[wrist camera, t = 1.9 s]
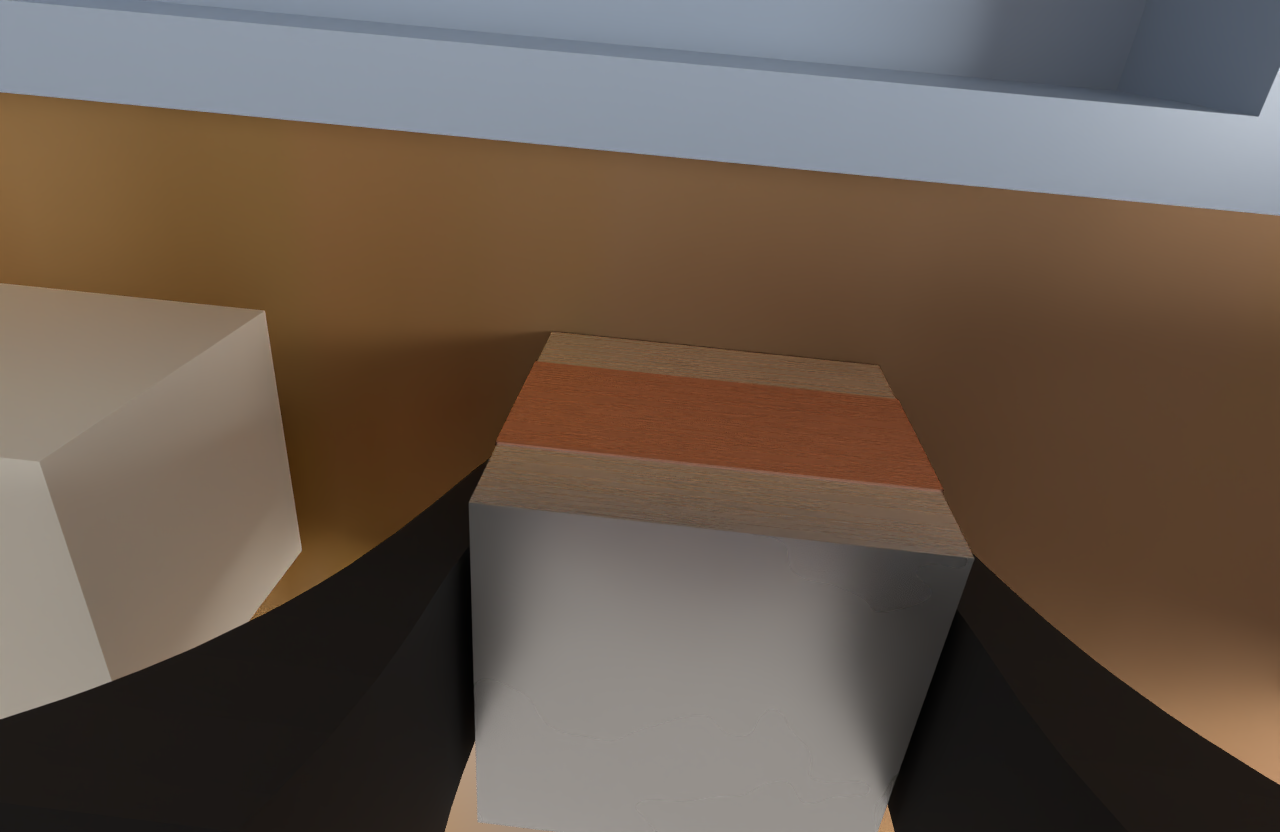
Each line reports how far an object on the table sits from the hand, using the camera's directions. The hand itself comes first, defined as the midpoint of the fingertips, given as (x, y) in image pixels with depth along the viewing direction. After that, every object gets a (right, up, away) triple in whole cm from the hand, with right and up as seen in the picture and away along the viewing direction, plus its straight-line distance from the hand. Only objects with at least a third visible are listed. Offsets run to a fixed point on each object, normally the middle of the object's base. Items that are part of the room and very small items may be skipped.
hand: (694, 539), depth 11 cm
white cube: (-9, +2, +2) cm, 9 cm away
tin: (0, +1, +1) cm, 1 cm away
